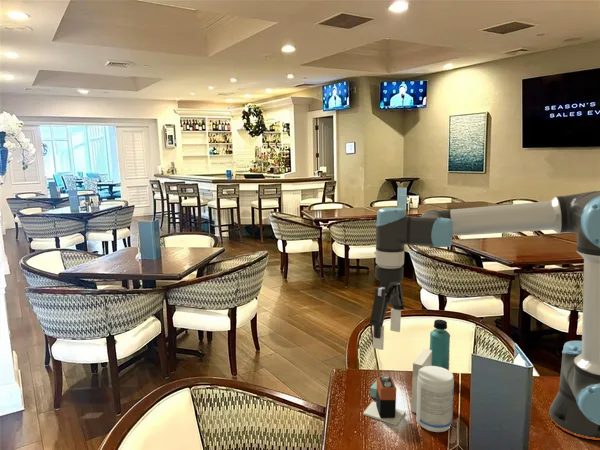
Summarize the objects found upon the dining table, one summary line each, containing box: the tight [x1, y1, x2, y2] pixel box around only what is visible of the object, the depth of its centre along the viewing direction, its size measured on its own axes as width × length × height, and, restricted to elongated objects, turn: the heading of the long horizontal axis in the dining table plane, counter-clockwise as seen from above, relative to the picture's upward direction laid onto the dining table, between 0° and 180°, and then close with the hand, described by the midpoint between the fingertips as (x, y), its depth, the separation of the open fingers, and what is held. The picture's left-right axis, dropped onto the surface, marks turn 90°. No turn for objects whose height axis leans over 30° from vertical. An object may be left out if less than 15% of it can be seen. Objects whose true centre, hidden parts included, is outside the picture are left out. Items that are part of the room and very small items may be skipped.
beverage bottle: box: [429, 319, 451, 371], centre depth 146 cm, size 6×7×20 cm
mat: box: [362, 400, 406, 427], centre depth 128 cm, size 10×7×1 cm
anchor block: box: [369, 379, 377, 399], centre depth 139 cm, size 2×8×3 cm, turn 149°
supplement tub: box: [415, 366, 455, 433], centre depth 122 cm, size 10×10×15 cm
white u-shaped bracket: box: [410, 348, 432, 414], centre depth 132 cm, size 2×11×15 cm, turn 149°
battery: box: [375, 374, 397, 418], centre depth 127 cm, size 4×7×10 cm, turn 1°
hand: (387, 339), depth 124 cm, fingers open, 13 cm apart
